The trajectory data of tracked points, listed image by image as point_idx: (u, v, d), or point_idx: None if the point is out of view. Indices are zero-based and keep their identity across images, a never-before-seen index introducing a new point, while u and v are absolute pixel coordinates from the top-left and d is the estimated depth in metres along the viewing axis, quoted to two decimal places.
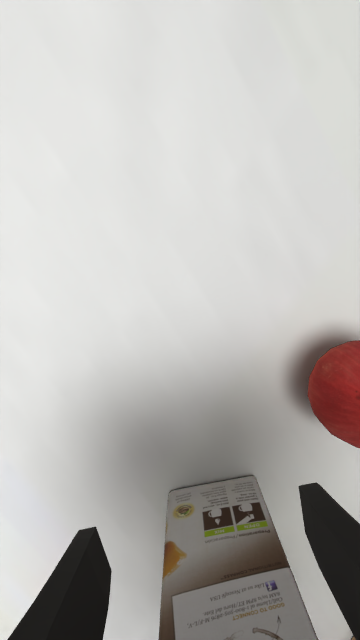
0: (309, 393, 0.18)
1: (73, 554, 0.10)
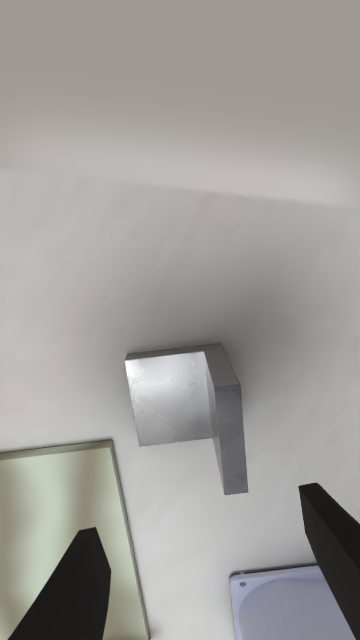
0: None
1: (73, 554, 0.10)
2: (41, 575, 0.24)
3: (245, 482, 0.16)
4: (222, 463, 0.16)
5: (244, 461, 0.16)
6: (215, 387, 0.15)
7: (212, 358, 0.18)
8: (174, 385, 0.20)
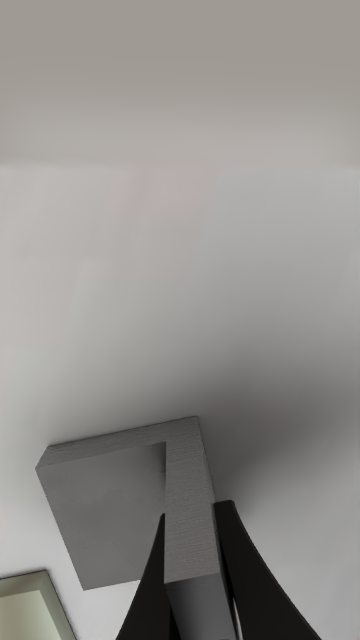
0: None
1: None
2: None
3: None
4: None
5: None
6: (167, 581, 0.07)
7: (178, 465, 0.10)
8: (125, 497, 0.12)
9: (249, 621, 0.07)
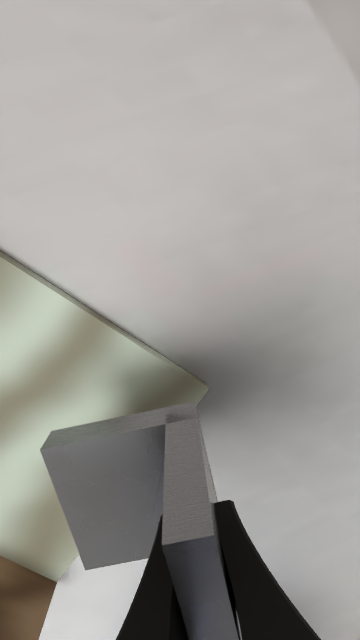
0: None
1: None
2: (25, 456, 0.20)
3: None
4: None
5: None
6: (164, 544, 0.07)
7: (176, 445, 0.11)
8: (125, 479, 0.12)
9: (248, 621, 0.07)
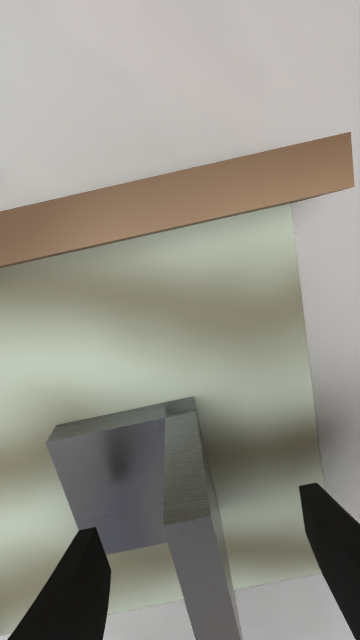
0: None
1: (73, 554, 0.10)
2: None
3: None
4: None
5: (236, 635, 0.09)
6: (165, 524, 0.08)
7: (175, 436, 0.11)
8: (127, 470, 0.13)
9: None
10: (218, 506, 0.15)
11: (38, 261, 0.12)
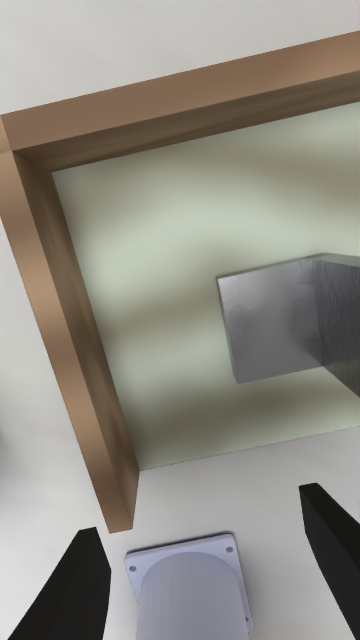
0: None
1: (73, 554, 0.10)
2: None
3: None
4: None
5: None
6: None
7: (331, 258, 0.15)
8: (277, 305, 0.17)
9: None
10: None
11: (219, 135, 0.16)
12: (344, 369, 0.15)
